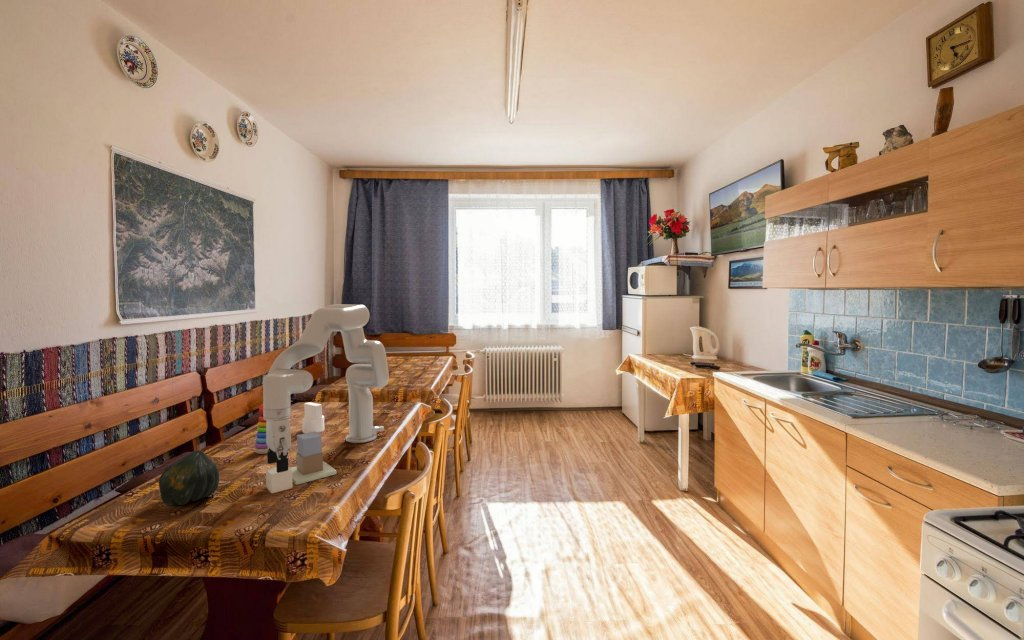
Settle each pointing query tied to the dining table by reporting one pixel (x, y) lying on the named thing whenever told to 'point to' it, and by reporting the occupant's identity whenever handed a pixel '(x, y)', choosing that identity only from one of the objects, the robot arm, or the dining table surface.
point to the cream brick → (278, 479)
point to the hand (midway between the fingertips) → (277, 467)
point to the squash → (188, 479)
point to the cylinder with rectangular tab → (312, 418)
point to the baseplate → (313, 475)
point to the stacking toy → (261, 434)
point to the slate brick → (309, 444)
